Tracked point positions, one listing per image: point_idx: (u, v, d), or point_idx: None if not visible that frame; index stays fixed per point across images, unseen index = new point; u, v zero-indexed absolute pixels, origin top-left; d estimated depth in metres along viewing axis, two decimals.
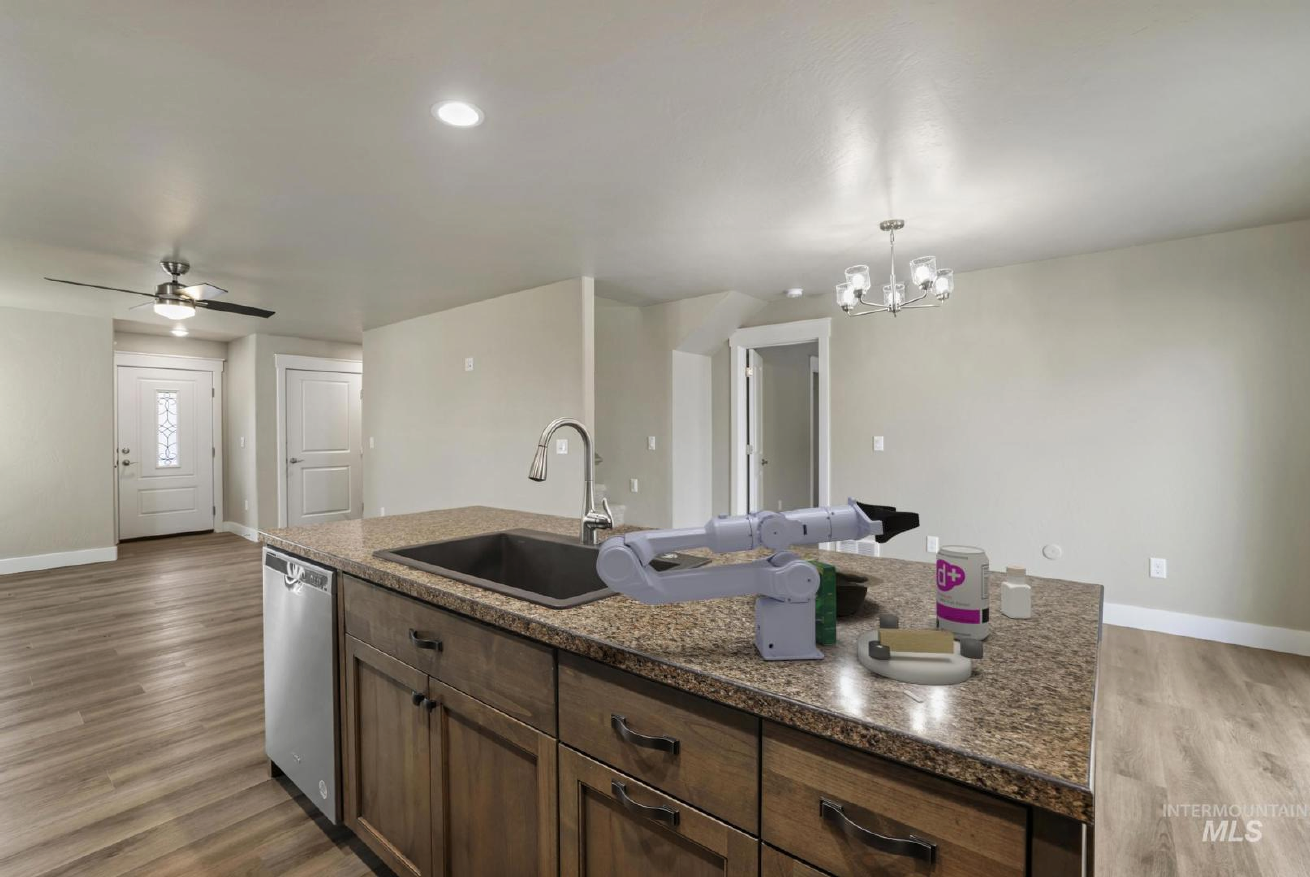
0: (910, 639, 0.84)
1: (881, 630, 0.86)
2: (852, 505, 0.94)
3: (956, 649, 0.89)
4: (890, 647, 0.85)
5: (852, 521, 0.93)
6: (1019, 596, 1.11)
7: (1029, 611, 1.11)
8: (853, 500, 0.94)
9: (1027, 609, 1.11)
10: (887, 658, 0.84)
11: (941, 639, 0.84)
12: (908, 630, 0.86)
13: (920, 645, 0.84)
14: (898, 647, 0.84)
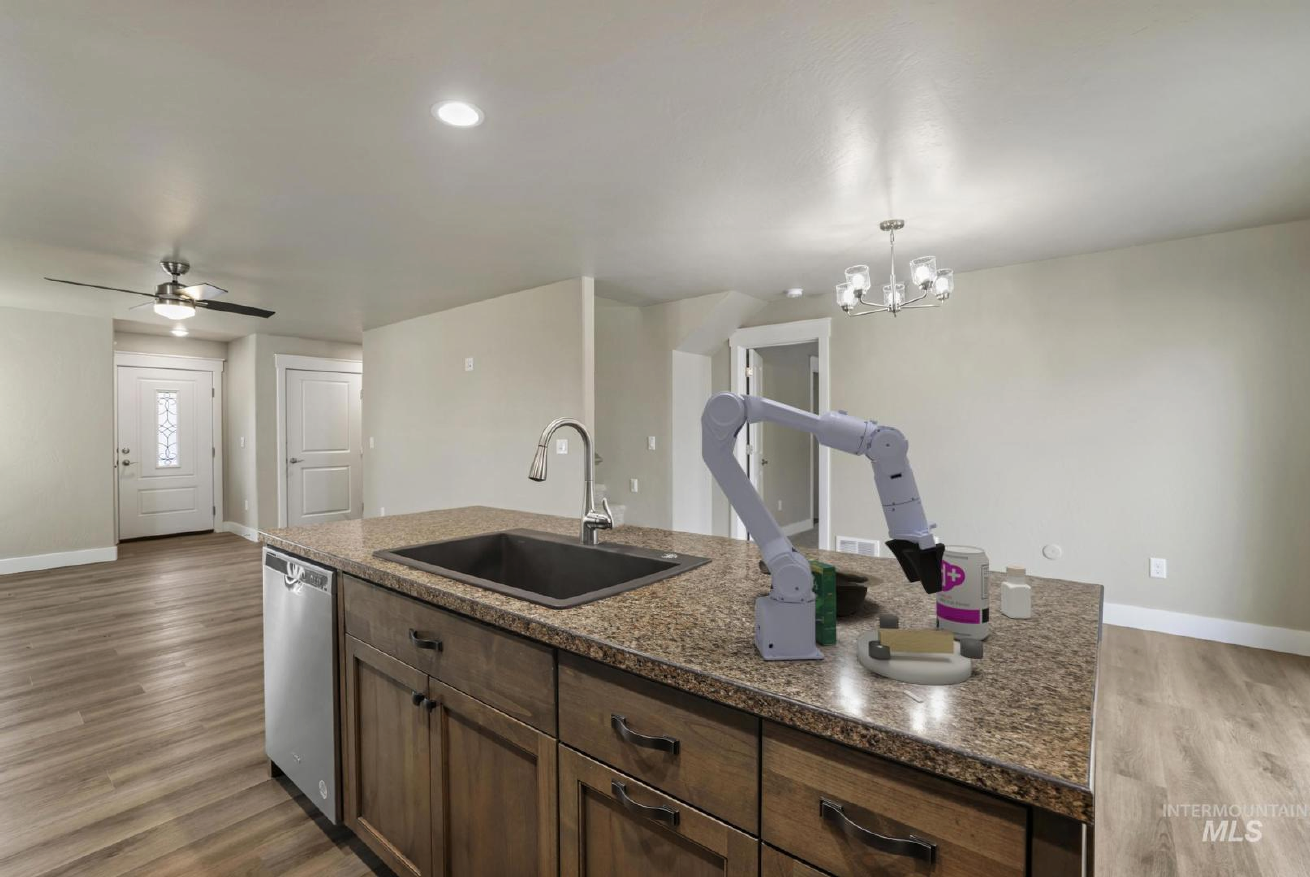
0: (910, 639, 0.84)
1: (881, 630, 0.86)
2: (928, 524, 0.90)
3: (956, 649, 0.89)
4: (890, 647, 0.85)
5: (916, 523, 0.88)
6: (1019, 596, 1.11)
7: (1029, 611, 1.11)
8: (934, 525, 0.90)
9: (1027, 609, 1.11)
10: (887, 658, 0.84)
11: (941, 639, 0.84)
12: (908, 630, 0.86)
13: (920, 645, 0.84)
14: (898, 647, 0.84)
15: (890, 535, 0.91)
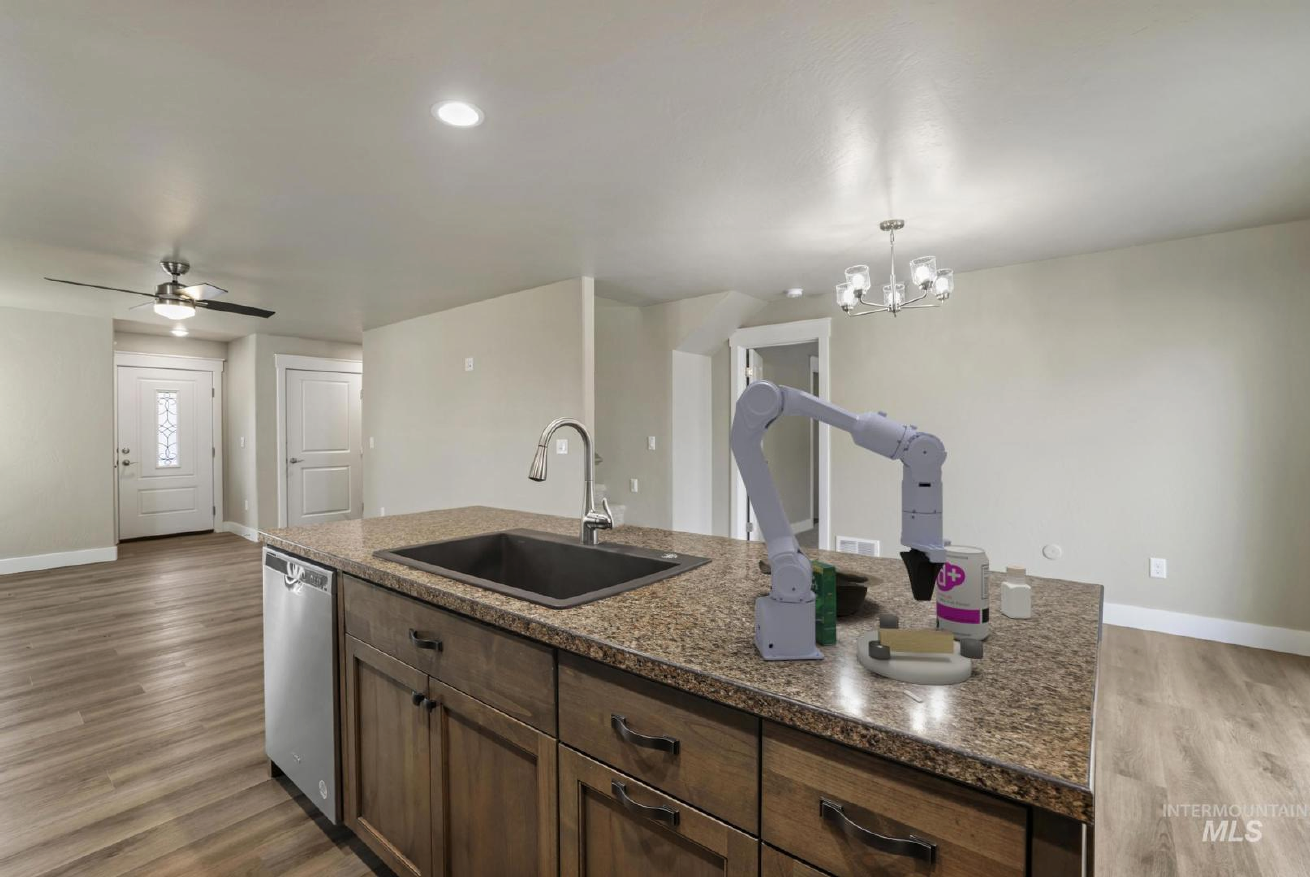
0: (910, 639, 0.84)
1: (881, 630, 0.86)
2: (943, 541, 0.88)
3: (956, 649, 0.89)
4: (890, 647, 0.85)
5: (932, 536, 0.87)
6: (1019, 596, 1.11)
7: (1029, 611, 1.11)
8: (949, 542, 0.88)
9: (1027, 609, 1.11)
10: (887, 658, 0.84)
11: (941, 639, 0.84)
12: (908, 630, 0.86)
13: (920, 645, 0.84)
14: (898, 647, 0.84)
15: (902, 541, 0.90)
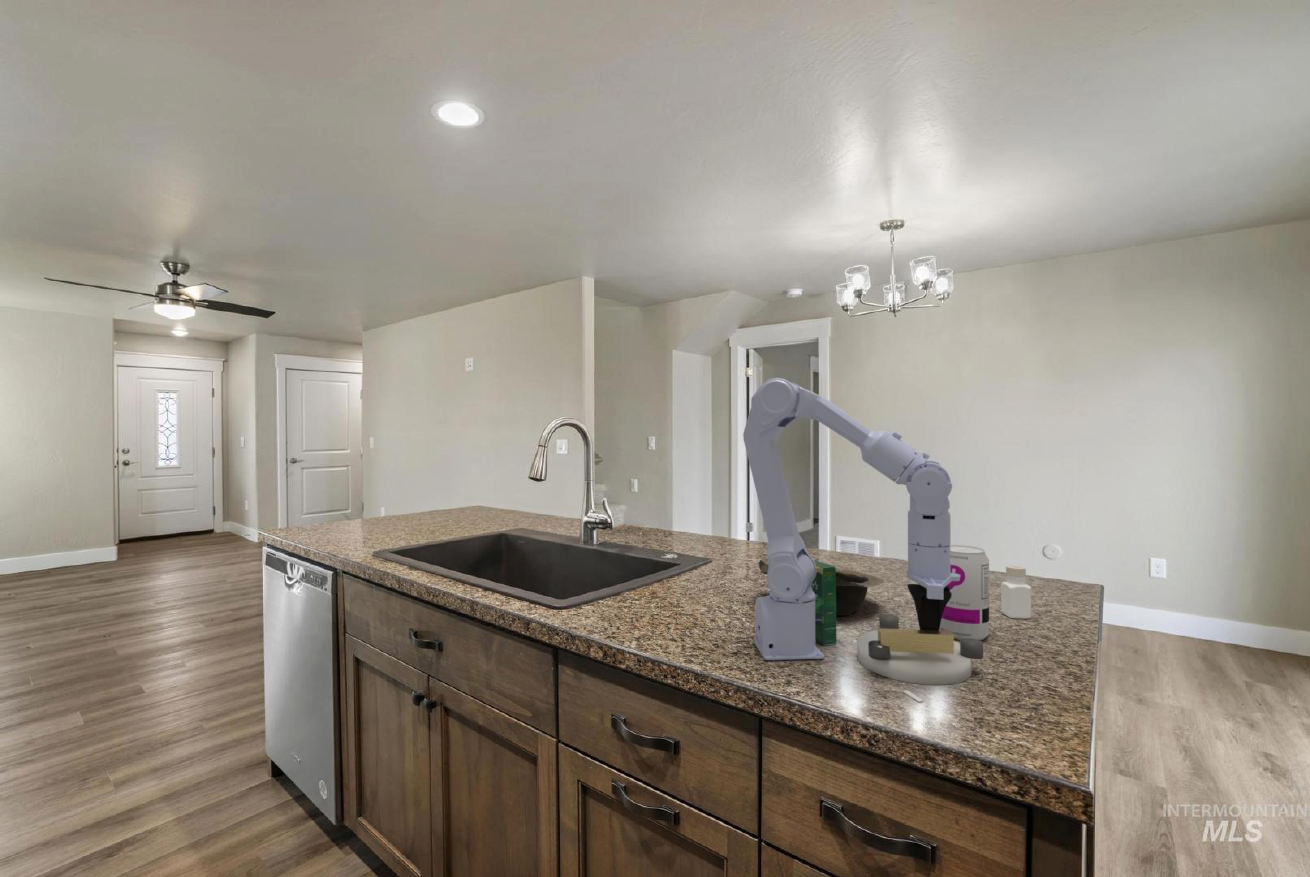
0: (910, 639, 0.84)
1: (881, 630, 0.86)
2: (951, 576, 0.85)
3: (956, 649, 0.89)
4: (890, 647, 0.85)
5: (935, 571, 0.84)
6: (1019, 596, 1.11)
7: (1029, 611, 1.11)
8: (957, 578, 0.84)
9: (1027, 609, 1.11)
10: (887, 658, 0.84)
11: (941, 639, 0.84)
12: (908, 630, 0.86)
13: (920, 645, 0.84)
14: (898, 647, 0.84)
15: (907, 574, 0.87)
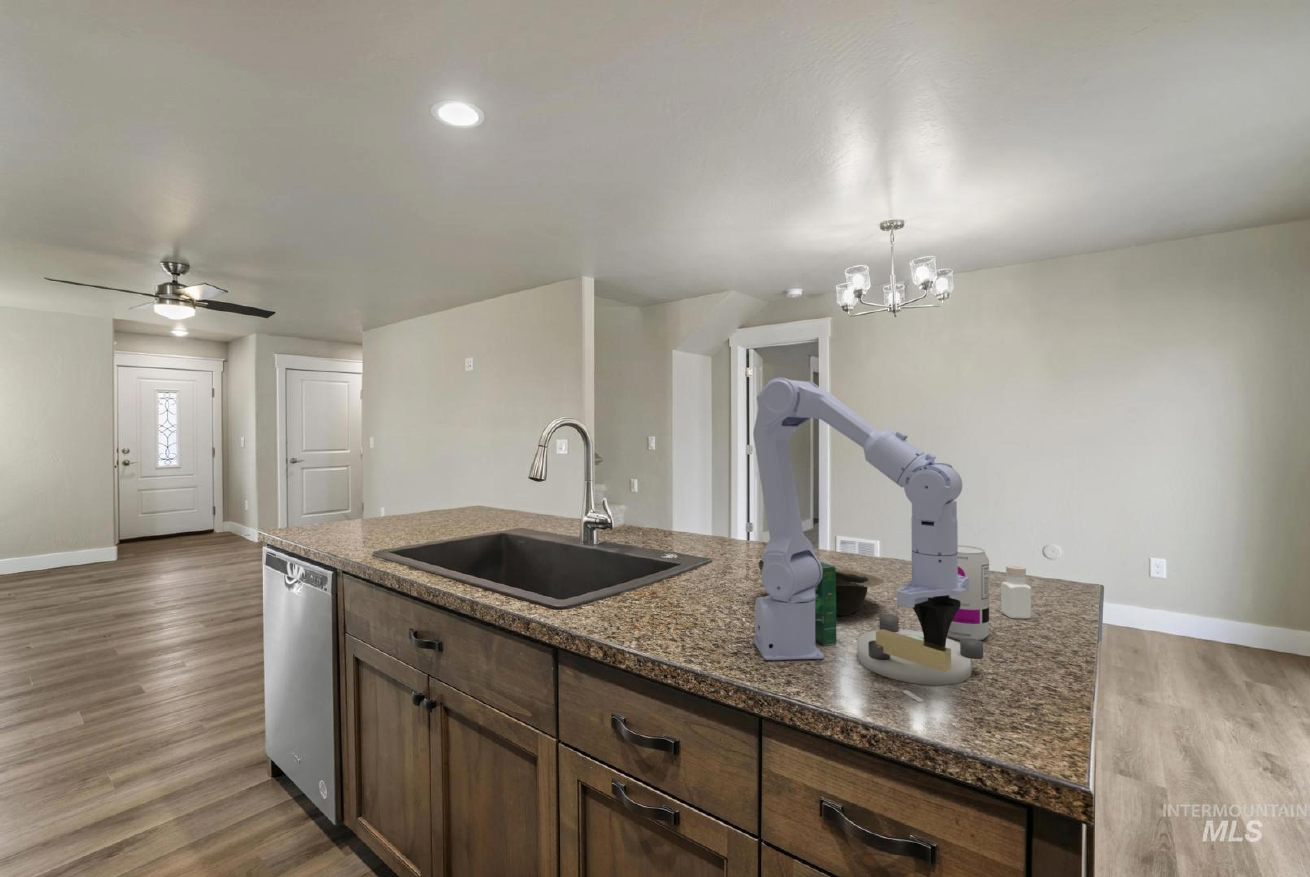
0: (902, 645, 0.82)
1: (881, 630, 0.85)
2: (950, 589, 0.77)
3: (956, 649, 0.89)
4: (883, 648, 0.84)
5: (926, 580, 0.78)
6: (1019, 596, 1.11)
7: (1029, 611, 1.11)
8: (956, 592, 0.77)
9: (1027, 609, 1.11)
10: (879, 658, 0.84)
11: (931, 653, 0.78)
12: (908, 637, 0.83)
13: (911, 654, 0.81)
14: (891, 650, 0.83)
15: None
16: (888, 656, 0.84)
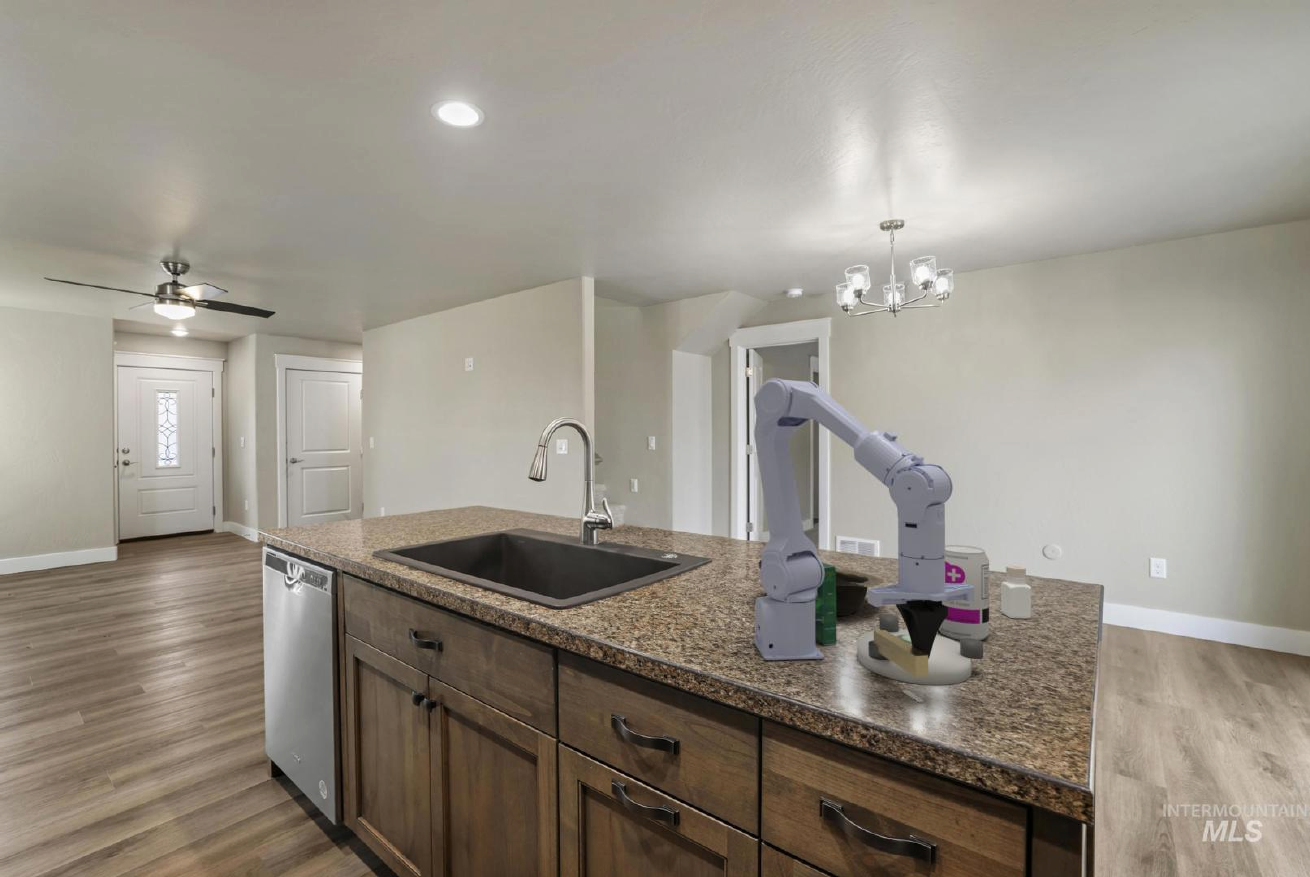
0: (889, 646, 0.81)
1: (880, 631, 0.85)
2: (927, 593, 0.75)
3: (956, 649, 0.89)
4: (878, 648, 0.84)
5: (904, 582, 0.77)
6: (1019, 596, 1.11)
7: (1029, 611, 1.11)
8: (931, 597, 0.75)
9: (1027, 609, 1.11)
10: (874, 657, 0.85)
11: (907, 656, 0.77)
12: (898, 640, 0.82)
13: (895, 656, 0.80)
14: (882, 650, 0.83)
15: None
16: (884, 657, 0.84)
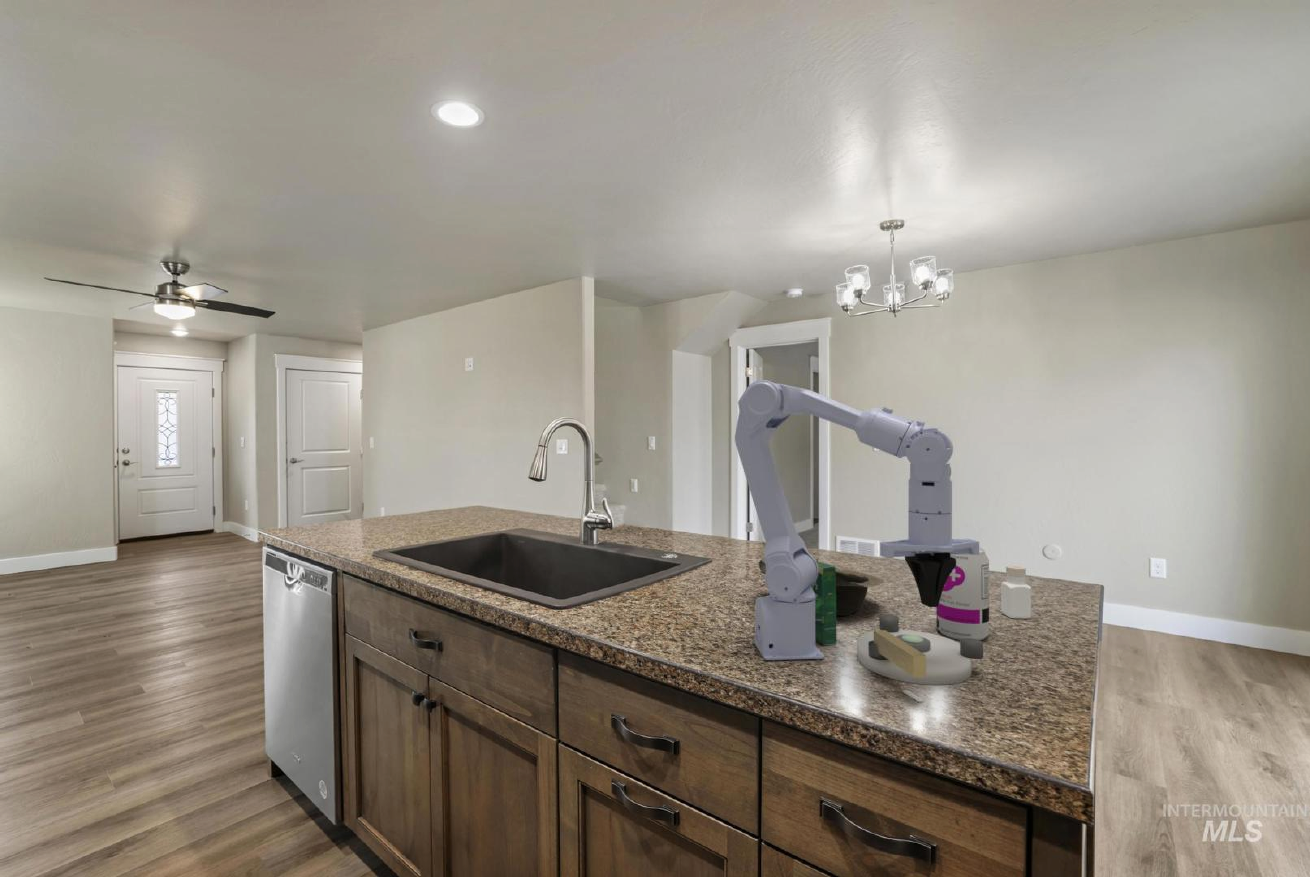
0: (888, 646, 0.81)
1: (880, 631, 0.85)
2: (936, 545, 0.82)
3: (956, 649, 0.89)
4: (877, 648, 0.84)
5: (914, 536, 0.84)
6: (1019, 596, 1.11)
7: (1029, 611, 1.11)
8: (939, 548, 0.81)
9: (1027, 609, 1.11)
10: (874, 657, 0.85)
11: (906, 656, 0.77)
12: (897, 640, 0.82)
13: (894, 656, 0.80)
14: (882, 650, 0.83)
15: None
16: (884, 657, 0.84)
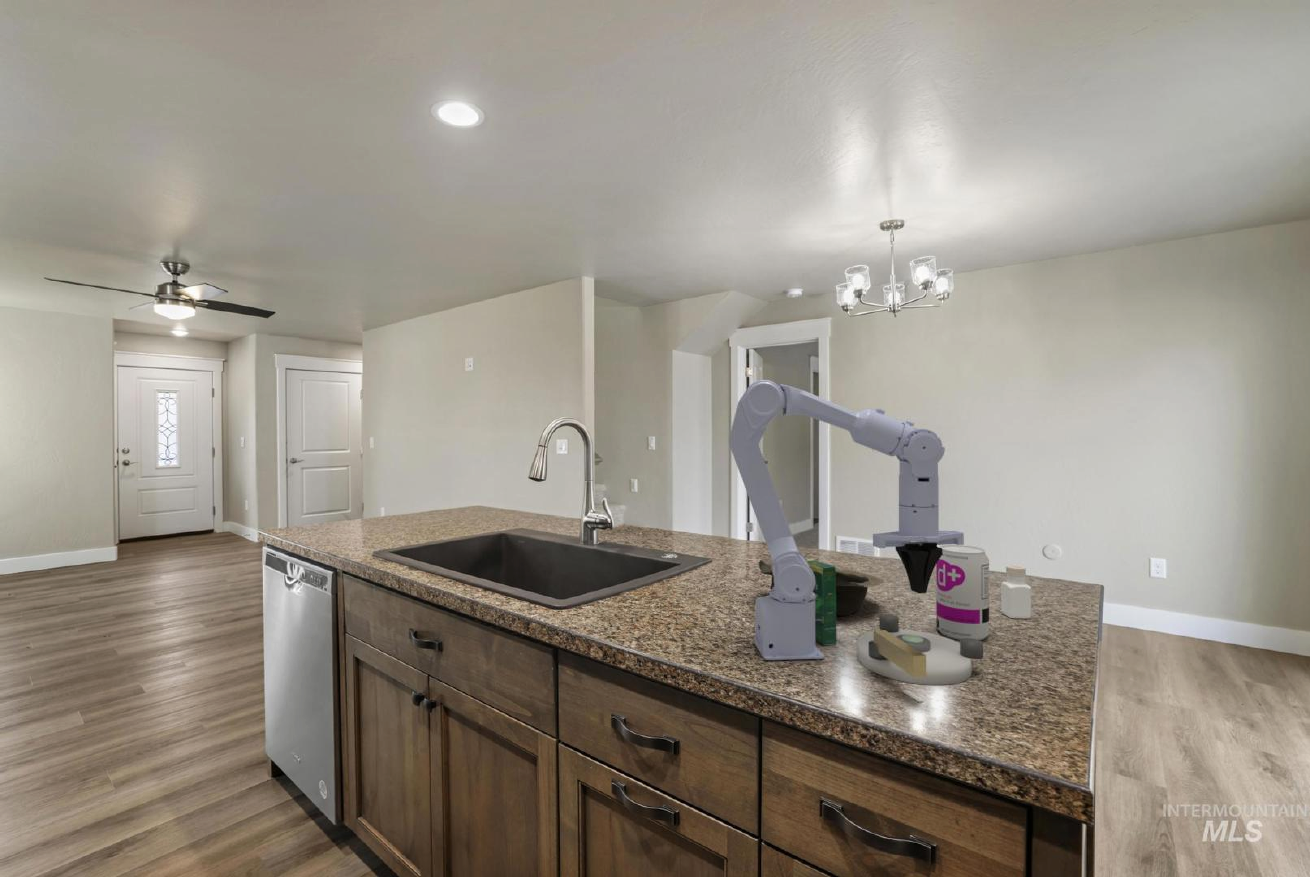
0: (888, 646, 0.81)
1: (880, 631, 0.85)
2: (924, 536, 0.89)
3: (956, 649, 0.89)
4: (877, 648, 0.84)
5: (904, 528, 0.91)
6: (1019, 596, 1.11)
7: (1029, 611, 1.11)
8: (927, 538, 0.88)
9: (1027, 609, 1.11)
10: (874, 657, 0.85)
11: (906, 656, 0.77)
12: (897, 640, 0.82)
13: (894, 656, 0.80)
14: (882, 650, 0.83)
15: None
16: (884, 657, 0.84)
